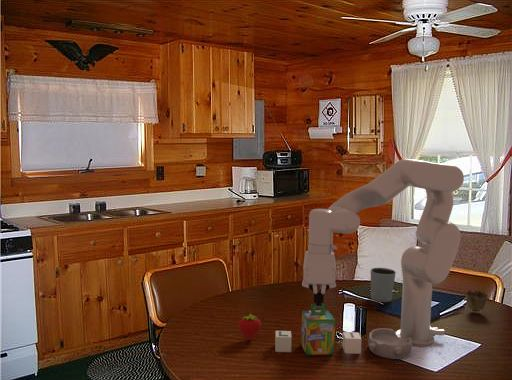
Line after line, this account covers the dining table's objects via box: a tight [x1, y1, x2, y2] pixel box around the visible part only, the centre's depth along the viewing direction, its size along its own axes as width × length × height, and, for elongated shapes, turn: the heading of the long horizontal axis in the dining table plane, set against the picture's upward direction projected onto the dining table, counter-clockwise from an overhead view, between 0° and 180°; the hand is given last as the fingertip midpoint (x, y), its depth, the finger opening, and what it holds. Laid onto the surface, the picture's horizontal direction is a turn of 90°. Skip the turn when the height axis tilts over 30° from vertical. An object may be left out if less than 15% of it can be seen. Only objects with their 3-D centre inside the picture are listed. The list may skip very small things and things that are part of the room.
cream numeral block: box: [342, 331, 362, 355], centre depth 167 cm, size 5×5×5 cm
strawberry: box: [238, 312, 262, 341], centre depth 173 cm, size 6×8×10 cm
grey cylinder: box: [370, 267, 397, 303], centre depth 217 cm, size 10×10×12 cm
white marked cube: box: [274, 330, 293, 353], centre depth 167 cm, size 5×5×5 cm
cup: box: [466, 290, 488, 315], centre depth 201 cm, size 8×7×8 cm
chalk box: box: [300, 303, 336, 356], centre depth 166 cm, size 9×9×15 cm
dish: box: [367, 327, 413, 360], centre depth 167 cm, size 14×14×5 cm
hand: (318, 304), depth 165 cm, fingers closed
